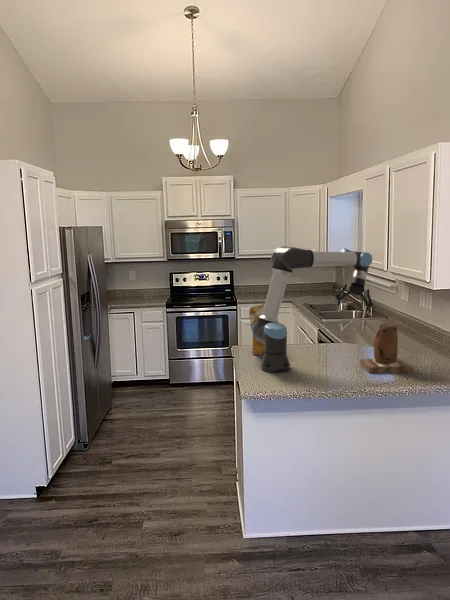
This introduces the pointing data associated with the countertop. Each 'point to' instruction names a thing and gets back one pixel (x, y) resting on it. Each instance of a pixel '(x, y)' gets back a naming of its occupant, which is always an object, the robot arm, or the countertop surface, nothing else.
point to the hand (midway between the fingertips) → (350, 314)
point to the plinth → (385, 366)
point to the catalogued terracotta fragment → (386, 344)
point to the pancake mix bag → (254, 315)
